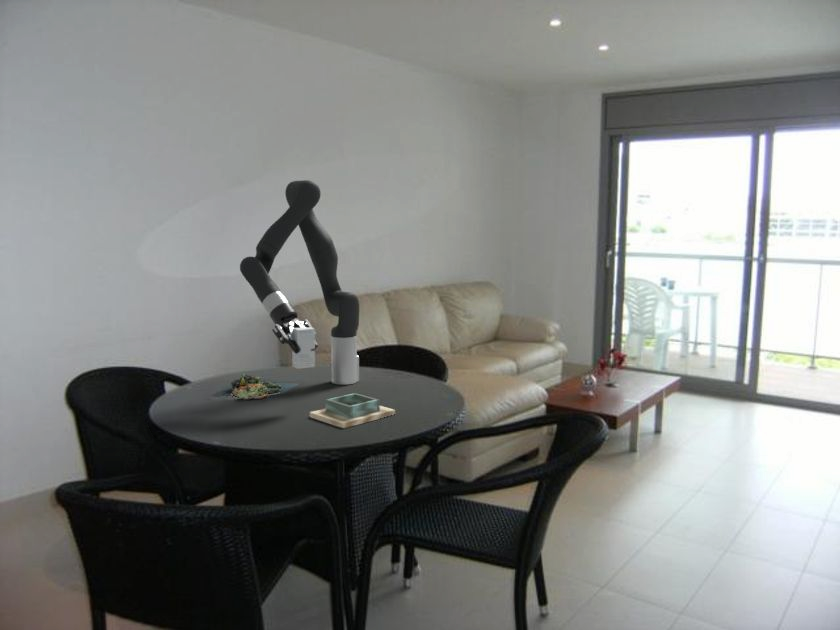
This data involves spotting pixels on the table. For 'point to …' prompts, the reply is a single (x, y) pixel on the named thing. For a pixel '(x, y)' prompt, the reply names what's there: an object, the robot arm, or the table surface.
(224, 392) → the plated dish
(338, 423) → the socket board
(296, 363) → the skincare box
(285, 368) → the table surface
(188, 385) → the table surface
